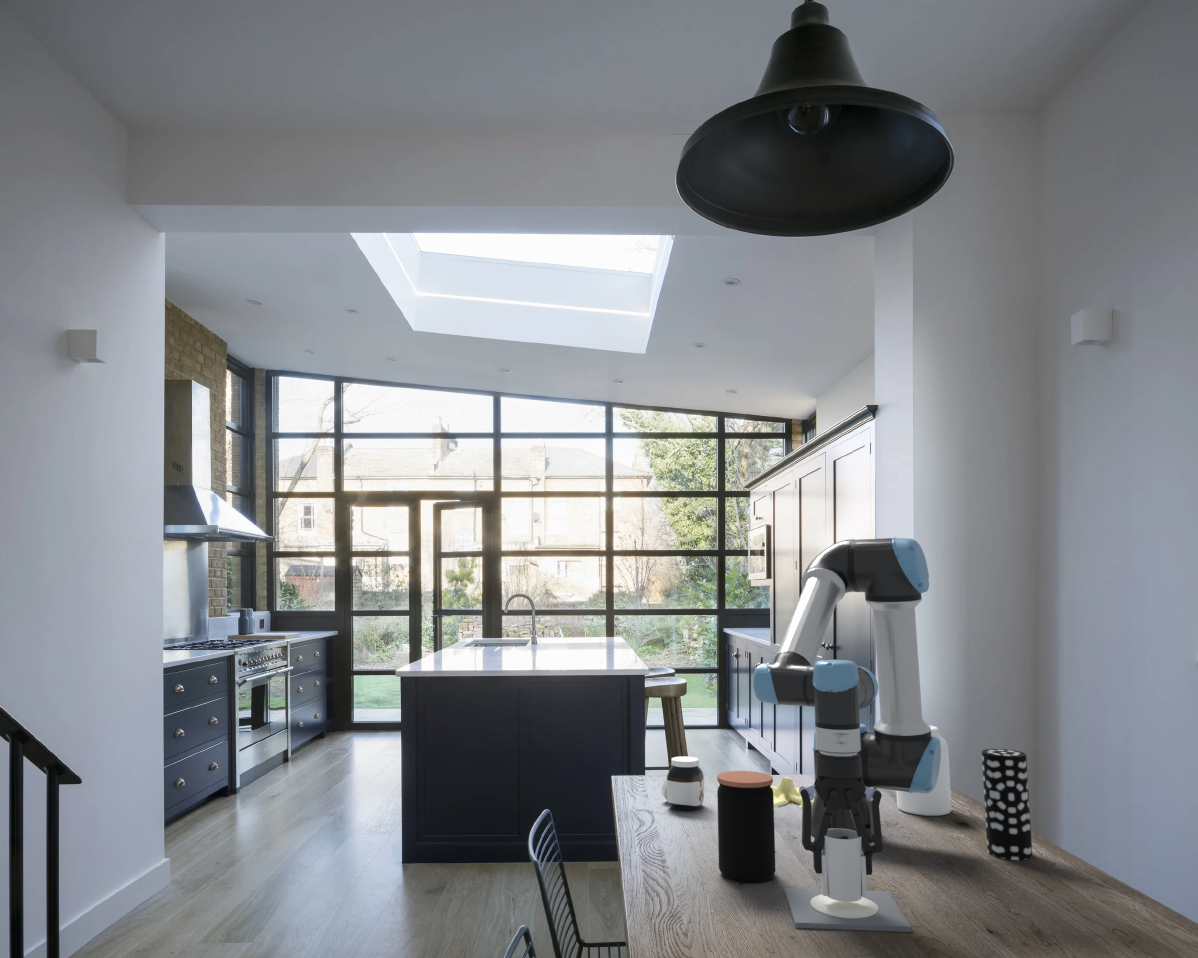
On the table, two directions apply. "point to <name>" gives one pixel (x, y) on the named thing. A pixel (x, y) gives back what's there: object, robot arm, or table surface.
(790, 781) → the cloth
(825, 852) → the white cup
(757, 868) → the coffee jar
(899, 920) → the board
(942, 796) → the white bottle
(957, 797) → the table surface
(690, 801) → the spread jar
